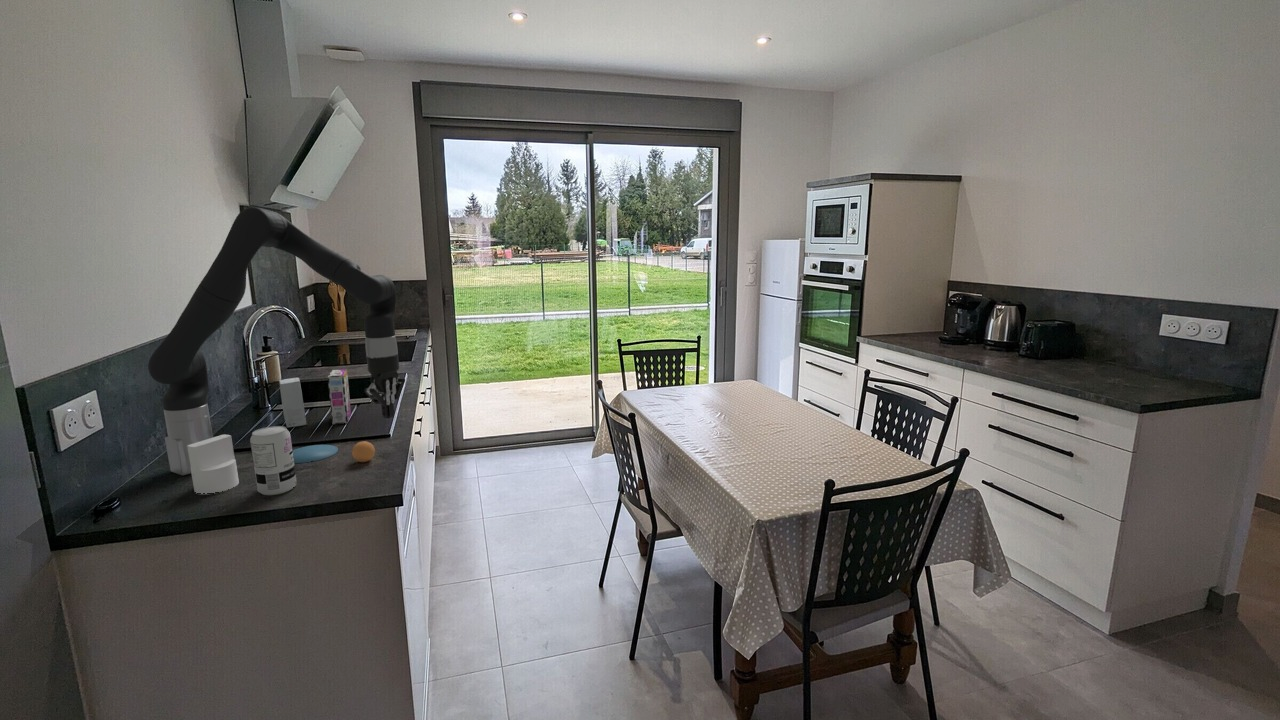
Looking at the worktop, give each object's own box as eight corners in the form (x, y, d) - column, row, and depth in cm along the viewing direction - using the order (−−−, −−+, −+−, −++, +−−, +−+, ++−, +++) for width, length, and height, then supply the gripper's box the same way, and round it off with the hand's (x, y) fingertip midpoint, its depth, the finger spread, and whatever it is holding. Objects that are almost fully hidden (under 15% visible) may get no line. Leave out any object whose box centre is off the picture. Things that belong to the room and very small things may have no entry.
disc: (302, 466, 157) (301, 465, 157) (271, 457, 164) (270, 457, 164) (348, 450, 169) (348, 449, 169) (318, 442, 176) (318, 441, 176)
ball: (362, 466, 157) (360, 446, 156) (348, 462, 160) (346, 443, 159) (380, 459, 162) (378, 440, 161) (366, 456, 165) (364, 437, 163)
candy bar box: (349, 423, 194) (343, 375, 191) (332, 425, 192) (326, 376, 189) (352, 414, 204) (347, 368, 201) (336, 415, 203) (331, 369, 199)
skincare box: (307, 425, 192) (301, 381, 189) (285, 428, 189) (279, 383, 186) (304, 418, 199) (299, 376, 196) (284, 421, 196) (278, 378, 193)
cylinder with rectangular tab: (223, 477, 151) (216, 432, 148) (247, 482, 147) (240, 437, 145) (185, 491, 142) (177, 444, 140) (210, 496, 139) (202, 448, 137)
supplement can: (254, 489, 143) (245, 430, 140) (291, 479, 149) (284, 423, 146) (262, 499, 138) (253, 438, 135) (301, 489, 143) (293, 430, 140)
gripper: (388, 348, 159) (394, 409, 163) (351, 357, 147) (358, 423, 150) (411, 349, 157) (417, 411, 160) (375, 359, 144) (382, 426, 148)
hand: (388, 417), depth 155 cm, fingers closed
